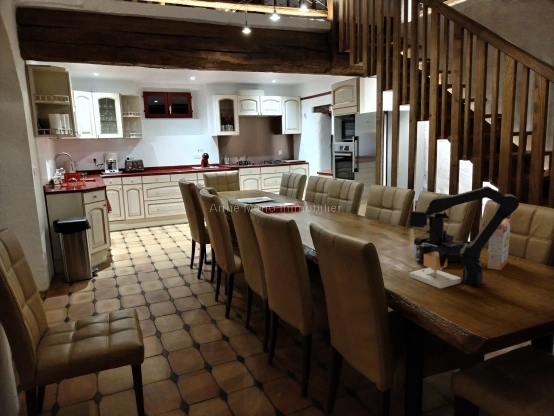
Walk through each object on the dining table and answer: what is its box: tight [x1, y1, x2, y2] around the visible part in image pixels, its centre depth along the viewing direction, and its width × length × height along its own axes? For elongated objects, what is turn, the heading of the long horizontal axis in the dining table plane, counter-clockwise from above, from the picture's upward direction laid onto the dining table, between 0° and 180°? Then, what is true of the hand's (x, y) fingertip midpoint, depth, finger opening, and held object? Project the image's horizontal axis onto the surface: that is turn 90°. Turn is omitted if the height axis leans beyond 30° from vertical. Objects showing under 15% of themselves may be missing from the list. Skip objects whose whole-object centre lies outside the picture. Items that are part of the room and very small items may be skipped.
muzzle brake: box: [413, 240, 481, 263], centre depth 184 cm, size 10×28×10 cm, turn 79°
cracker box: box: [486, 218, 512, 271], centre depth 174 cm, size 14×6×21 cm, turn 139°
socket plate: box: [409, 267, 462, 289], centre depth 162 cm, size 16×12×2 cm
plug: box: [423, 252, 448, 273], centre depth 161 cm, size 6×6×7 cm
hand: (435, 264), depth 161 cm, fingers closed on plug, 6 cm apart
